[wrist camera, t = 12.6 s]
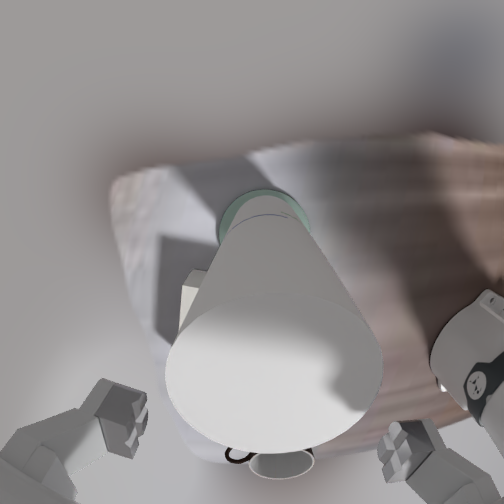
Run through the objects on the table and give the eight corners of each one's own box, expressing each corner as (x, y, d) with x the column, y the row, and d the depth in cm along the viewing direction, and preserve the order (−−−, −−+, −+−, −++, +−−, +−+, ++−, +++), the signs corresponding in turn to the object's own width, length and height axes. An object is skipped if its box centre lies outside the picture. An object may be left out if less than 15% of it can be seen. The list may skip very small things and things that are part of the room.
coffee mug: (314, 398, 40) (324, 449, 31) (298, 433, 43) (303, 480, 33) (236, 388, 40) (231, 440, 30) (228, 424, 42) (221, 473, 33)
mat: (317, 198, 32) (318, 199, 32) (298, 283, 35) (299, 285, 35) (227, 182, 32) (226, 182, 32) (214, 268, 35) (213, 270, 34)
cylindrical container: (235, 192, 32) (159, 278, 8) (302, 199, 32) (411, 300, 8) (230, 256, 34) (172, 442, 10) (294, 262, 34) (348, 452, 10)
